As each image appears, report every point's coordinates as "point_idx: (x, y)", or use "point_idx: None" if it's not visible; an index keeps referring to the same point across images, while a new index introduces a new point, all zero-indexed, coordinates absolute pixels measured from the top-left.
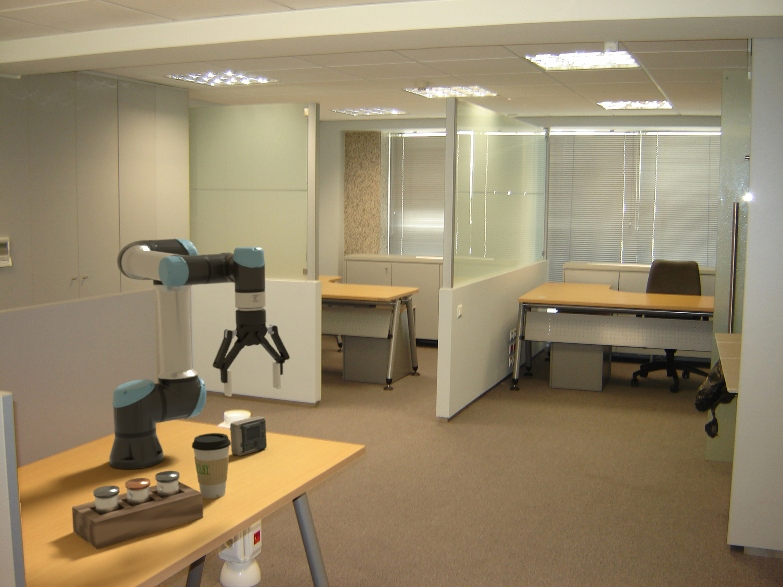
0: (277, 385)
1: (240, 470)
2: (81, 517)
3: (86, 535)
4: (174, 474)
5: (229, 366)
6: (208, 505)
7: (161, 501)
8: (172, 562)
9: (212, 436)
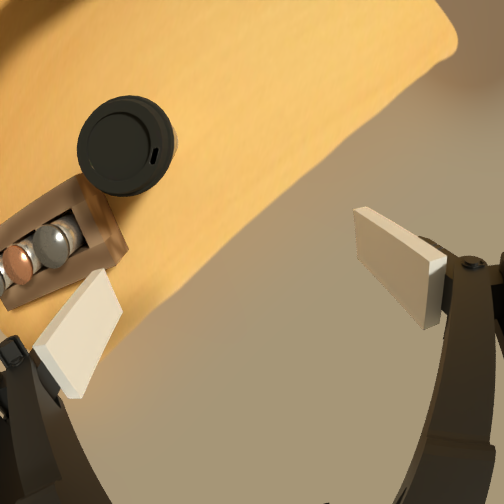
0: (364, 260)
1: (236, 30)
2: None
3: None
4: (59, 252)
5: (66, 413)
6: (140, 198)
7: (60, 275)
8: (101, 359)
9: (125, 121)
